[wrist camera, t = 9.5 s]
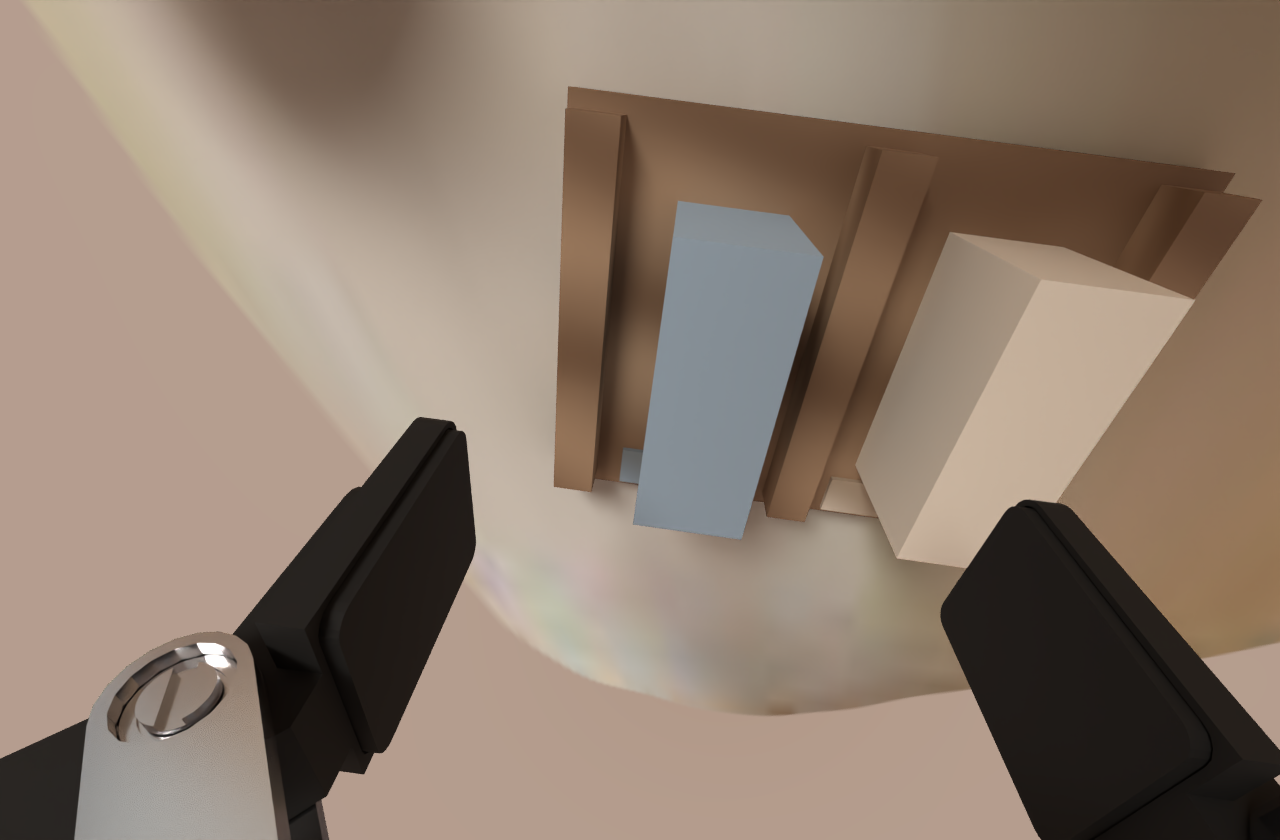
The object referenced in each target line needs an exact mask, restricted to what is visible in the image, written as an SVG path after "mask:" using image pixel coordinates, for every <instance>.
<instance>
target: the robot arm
mask: <svg viewBox="0 0 1280 840" xmlns="http://www.w3.org/2000/svg"><path fill="white" fill-rule="evenodd" d="M475 546H476V536H475V525H474V515H473V504H472V494H471V483H470V473H469V462H468V452H467V441H466V435H465V433H464V432H463V431H457V430H456V426H455V424H454V422H452V421H446V420H438V419H431V418H424V417H419V418H416V419H415V420H414V421H413V423H412V424H411V425H410V426H409V428H408V429H407V430H406V431H405V433H404V434H403V435H402V436H401V438H400V439H399V440H398V441H397V443H396V444H395V445H394V447H393V448H392V449H391V450H390V452H389V453H388V454H387V455H386V457H385V458H384V459H383V460H382V462H381V463H380V464H379V466H378V467H377V468H376V469H375V471H374V472H373V473H372V474H371V476H370V477H369V478H368V479H367V481H366V482H365V483H364V485H363V486H362V487H357V488H354V489H352V490H351V491H350V492H349V493H348V494H347V495H346V496H345V497H344V498H343V499H342V500H341V502H340V503H339V504H338V505H337V507H336V508H335V509H334V510H333V511H332V513H331V514H330V515H329V516H328V518H327V519H326V520H325V521H324V523H323V524H322V525H321V526H320V528H319V529H318V530H317V531H316V532H315V534H314V535H313V536H312V537H311V539H310V540H309V541H308V542H307V543H306V545H305V546H304V547H303V548H302V550H301V551H300V552H299V553H298V555H297V556H296V557H295V558H294V560H293V561H292V562H291V563H290V564H289V566H288V567H287V568H286V569H285V571H284V572H283V573H282V574H281V575H280V577H279V578H278V579H277V580H276V582H275V583H274V584H273V585H272V587H271V588H270V589H269V590H268V592H267V593H266V594H265V595H264V597H263V598H262V599H261V600H260V601H259V603H258V604H257V605H256V606H255V607H254V609H253V610H252V612H250V614H249V615H248V616H247V617H246V619H245V620H244V621H243V622H242V624H241V625H240V626H239V627H238V628H237V630H236V631H235V632H234V633H233V635H231V634H227V633H223V632H203V633H196V634H192V635H189V636H184V637H181V638H177V639H174V640H172V641H170V642H168V643H165V644H163V645H161V646H159V647H157V648H155V649H152V650H150V651H149V652H147V653H146V654H144V655H143V656H142V657H140V658H139V659H137V660H136V661H134V662H133V663H131V664H130V665H128V666H127V667H126V668H125V669H124V670H123V671H122V672H120V673H119V674H118V675H117V676H116V677H115V678H114V679H113V680H112V681H111V682H110V683H109V684H108V685H107V686H106V688H105V689H104V690H103V692H102V694H101V695H100V696H99V698H98V699H97V701H96V702H95V704H94V705H93V707H92V711H91V713H90V716H89V718H88V719H86V720H84V721H82V722H80V723H78V724H75V725H73V726H71V727H69V728H67V729H64V730H62V731H60V732H58V733H56V734H53V735H51V736H49V737H47V738H45V739H43V740H40V741H38V742H36V743H34V744H31V745H29V746H27V747H25V748H23V749H21V750H19V751H16V752H14V753H12V754H10V755H7V756H5V757H3V758H1V759H0V840H329V837H328V831H327V826H326V821H325V816H324V811H323V806H322V800H321V799H323V798H324V797H326V796H327V795H328V792H329V790H330V789H331V787H332V785H333V783H334V781H335V779H336V777H337V775H338V773H339V771H343V772H350V773H358V774H364V773H365V771H366V769H367V767H368V765H369V763H370V760H371V758H372V756H373V754H374V753H383V752H384V751H385V750H386V749H387V747H388V746H389V744H390V742H391V740H392V738H393V736H394V733H395V732H396V729H397V727H398V725H399V722H400V720H401V718H402V716H403V714H404V711H405V709H406V707H407V705H408V702H409V700H410V698H411V696H412V693H413V691H414V689H415V687H416V684H417V682H418V680H419V678H420V676H421V673H422V671H423V669H424V667H425V664H426V662H427V660H428V658H429V655H430V653H431V651H432V649H433V646H434V644H435V642H436V640H437V638H438V635H439V633H440V631H441V629H442V626H443V624H444V622H445V620H446V617H447V615H448V613H449V611H450V608H451V606H452V604H453V602H454V599H455V597H456V595H457V593H458V591H459V588H460V586H461V584H462V582H463V579H464V577H465V575H466V573H467V570H468V568H469V566H470V564H471V561H472V559H473V556H474V552H475ZM941 622H942V625H943V628H944V630H945V632H946V634H947V637H948V639H949V641H950V643H951V645H952V648H953V650H954V652H955V654H956V656H957V659H958V661H959V663H960V665H961V668H962V670H963V672H964V674H965V676H966V679H967V681H968V683H969V685H970V687H971V690H972V692H973V694H974V696H975V698H976V701H977V703H978V705H979V707H980V709H981V712H982V714H983V716H984V718H985V721H986V723H987V725H988V727H989V729H990V732H991V734H992V736H993V738H994V740H995V743H996V745H997V747H998V749H999V752H1000V754H1001V756H1002V758H1003V760H1004V763H1005V765H1006V767H1007V769H1008V772H1009V774H1010V776H1011V778H1012V780H1013V783H1014V785H1015V787H1016V789H1017V791H1018V793H1019V796H1020V798H1021V800H1022V803H1023V805H1024V807H1025V809H1026V811H1027V814H1028V816H1029V818H1030V820H1031V822H1032V825H1033V827H1034V829H1035V831H1036V832H1037V834H1038V836H1039V837H1040V839H1041V840H1280V785H1279V784H1278V783H1277V782H1276V781H1275V779H1274V778H1275V777H1277V776H1278V775H1280V750H1279V749H1278V747H1277V746H1276V745H1275V744H1274V743H1273V742H1272V741H1271V739H1270V738H1269V737H1268V736H1267V735H1266V734H1265V733H1264V731H1263V730H1262V729H1261V728H1260V727H1259V726H1258V724H1257V723H1256V722H1255V721H1254V720H1253V719H1252V718H1251V716H1250V715H1249V714H1248V713H1247V712H1246V711H1245V709H1244V708H1243V707H1242V706H1241V705H1240V704H1239V702H1238V701H1237V700H1236V699H1235V698H1234V697H1233V695H1232V694H1231V693H1230V692H1229V691H1228V690H1227V689H1226V687H1225V686H1224V685H1223V684H1222V683H1221V682H1220V680H1219V679H1218V678H1217V677H1216V676H1215V675H1214V674H1213V672H1212V671H1211V670H1210V669H1209V668H1208V667H1207V665H1206V664H1205V663H1204V662H1203V661H1202V660H1201V658H1200V657H1199V656H1198V655H1197V654H1196V653H1195V652H1194V650H1193V649H1192V648H1191V647H1190V646H1189V645H1188V643H1187V642H1186V641H1185V640H1184V639H1183V638H1182V636H1181V635H1180V634H1179V633H1178V632H1177V631H1176V630H1175V628H1174V627H1173V626H1172V625H1171V624H1170V623H1169V621H1168V620H1167V619H1166V618H1165V617H1164V616H1163V615H1162V613H1161V612H1160V611H1159V610H1158V609H1157V608H1156V606H1155V605H1154V604H1153V603H1152V602H1151V601H1150V599H1149V598H1148V597H1147V596H1146V595H1145V594H1144V593H1143V591H1142V590H1141V589H1140V588H1139V587H1138V586H1137V584H1136V583H1135V582H1134V581H1133V580H1132V579H1131V578H1130V576H1129V575H1128V574H1127V573H1126V572H1125V571H1124V569H1123V568H1122V567H1121V566H1120V565H1119V564H1118V563H1117V561H1116V560H1115V559H1114V558H1113V557H1112V556H1111V554H1110V553H1109V552H1108V551H1107V550H1106V549H1105V547H1104V546H1103V545H1102V544H1101V543H1100V542H1099V541H1098V539H1097V538H1096V537H1095V536H1094V535H1093V534H1092V532H1091V531H1090V530H1089V529H1088V528H1087V527H1086V526H1085V524H1084V523H1083V522H1082V521H1081V520H1080V519H1079V517H1078V516H1077V515H1076V514H1075V513H1074V512H1073V510H1071V509H1070V508H1069V507H1068V506H1066V505H1063V504H1059V503H1052V502H1045V501H1037V500H1030V499H1029V500H1022V501H1020V502H1018V504H1017V505H1016V506H1012V507H1010V508H1008V509H1007V510H1006V511H1005V513H1004V514H1003V516H1002V517H1001V519H1000V520H999V521H998V523H997V524H996V526H995V527H994V529H993V530H992V532H991V533H990V535H989V536H988V538H987V539H986V541H985V542H984V544H983V545H982V547H981V548H980V549H979V551H978V552H977V554H976V555H975V557H974V558H973V560H972V561H971V563H970V564H969V566H968V567H967V569H966V570H965V572H964V573H963V575H962V576H961V578H960V579H959V580H958V582H957V583H956V585H955V586H954V588H953V589H952V591H951V592H950V594H949V595H948V597H947V598H946V600H945V601H944V603H943V605H942V607H941Z"/></svg>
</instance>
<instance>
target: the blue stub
mask: <svg viewBox="0 0 1280 840" xmlns="http://www.w3.org/2000/svg"><path fill="white" fill-rule="evenodd" d="M823 258H824V257H823V255H822V254H821V253H820V252H819V251H818V249H817V248H816V247H815V246H814V245H813V243H812V242H811V241H810V240H809V239H808V237H807V236H806V235H805V234H804V232H803V231H802V230H801V229H800V228H799V226H798V225H797V224H796V223H795V222H794V220H793V219H792V218H791V217H790V216H789V215H781V214H774V213H766V212H758V211H751V210H743V209H736V208H728V207H721V206H713V205H706V204H698V203H691V202H683V201H678V204H677V211H676V218H675V225H674V233H673V240H672V247H671V254H670V261H669V269H668V276H667V283H666V290H665V298H664V305H663V312H662V319H661V326H660V334H659V341H658V348H657V355H656V362H655V370H654V377H653V384H652V391H651V398H650V406H649V413H648V420H647V427H646V434H645V442H644V449H643V456H642V463H641V471H640V478H639V485H638V492H637V500H636V507H635V514H634V521H633V525H640V526H648V527H655V528H662V529H669V530H676V531H683V532H690V533H697V534H704V535H711V536H718V537H725V538H732V539H740V540H741V539H742V536H743V532H744V529H745V525H746V522H747V519H748V515H749V512H750V508H751V505H752V501H753V498H754V495H755V491H756V488H757V484H758V481H759V477H760V474H761V471H762V467H763V464H764V460H765V457H766V453H767V450H768V446H769V443H770V440H771V436H772V433H773V429H774V426H775V422H776V419H777V416H778V412H779V409H780V405H781V402H782V398H783V395H784V391H785V388H786V385H787V381H788V378H789V374H790V371H791V367H792V364H793V361H794V357H795V354H796V350H797V347H798V343H799V340H800V337H801V333H802V330H803V326H804V323H805V319H806V316H807V312H808V309H809V306H810V302H811V299H812V295H813V292H814V288H815V285H816V282H817V278H818V275H819V271H820V268H821V264H822V261H823Z"/></svg>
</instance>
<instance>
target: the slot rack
mask: <svg viewBox="0 0 1280 840" xmlns="http://www.w3.org/2000/svg"><path fill="white" fill-rule="evenodd" d="M1234 175H1235V173H1228V172H1221V171H1214V170H1207V169H1199V168H1191V167H1184V166H1176V165H1168V164H1161V163H1153V162H1145V161H1138V160H1130V159H1122V158H1115V157H1107V156H1099V155H1092V154H1084V153H1076V152H1069V151H1061V150H1053V149H1046V148H1038V147H1030V146H1023V145H1015V144H1007V143H1000V142H992V141H984V140H977V139H969V138H961V137H954V136H946V135H938V134H931V133H923V132H915V131H908V130H900V129H892V128H885V127H877V126H869V125H862V124H854V123H846V122H839V121H831V120H823V119H816V118H808V117H800V116H793V115H785V114H777V113H770V112H762V111H754V110H747V109H739V108H731V107H724V106H716V105H708V104H701V103H693V102H685V101H678V100H670V99H662V98H655V97H647V96H639V95H632V94H624V93H616V92H609V91H601V90H593V89H586V88H578V87H568V105H567V109H565V139H564V172H563V204H562V237H561V269H560V302H559V334H558V367H557V399H556V432H555V464H554V487H560V488H567V489H574V490H581V491H588V492H591V491H592V487H593V483H594V479H602V480H610V481H617V482H624V483H631V484H638V485H639V478H640V471H641V463H642V456H643V449H644V442H645V434H646V427H647V420H648V413H649V406H650V398H651V391H652V384H653V377H654V370H655V362H656V355H657V348H658V341H659V334H660V326H661V319H662V312H663V305H664V298H665V290H666V283H667V276H668V269H669V261H670V254H671V247H672V240H673V233H674V225H675V218H676V211H677V204H678V201H683V202H691V203H698V204H706V205H713V206H721V207H728V208H736V209H743V210H751V211H758V212H766V213H774V214H781V215H789V216H790V217H791V218H792V219H793V220H794V222H795V223H796V224H797V225H798V226H799V228H800V229H801V230H802V231H803V232H804V234H805V235H806V236H807V237H808V239H809V240H810V241H811V242H812V243H813V245H814V246H815V247H816V248H817V249H818V251H819V252H820V253H821V254H822V255H823V257H824V258H823V261H822V264H821V268H820V271H819V275H818V278H817V282H816V285H815V288H814V292H813V295H812V299H811V302H810V306H809V309H808V312H807V316H806V319H805V323H804V326H803V330H802V333H801V337H800V340H799V343H798V347H797V350H796V354H795V357H794V361H793V364H792V367H791V371H790V374H789V378H788V381H787V385H786V388H785V391H784V395H783V398H782V402H781V405H780V409H779V412H778V416H777V419H776V422H775V426H774V429H773V433H772V436H771V440H770V443H769V446H768V450H767V453H766V457H765V460H764V464H763V467H762V471H761V474H760V477H759V481H758V484H757V488H756V491H755V495H754V498H753V501H759V502H764V505H765V510H766V516H767V517H773V518H780V519H787V520H794V521H801V522H805V519H806V516H807V514H808V511H809V509H816V510H823V511H830V512H837V513H844V514H852V515H859V516H866V517H873V518H878V515H877V513H876V511H875V509H874V506H873V504H872V502H871V500H870V497H869V495H868V493H867V491H866V488H865V486H864V484H863V482H862V479H861V477H860V475H859V473H858V470H857V468H856V466H855V464H856V462H857V459H858V457H859V454H860V452H861V449H862V447H863V444H864V442H865V440H866V437H867V435H868V432H869V430H870V427H871V425H872V422H873V420H874V417H875V415H876V413H877V410H878V408H879V405H880V403H881V400H882V398H883V395H884V393H885V390H886V388H887V385H888V383H889V381H890V378H891V376H892V373H893V371H894V368H895V366H896V363H897V361H898V358H899V356H900V353H901V351H902V349H903V346H904V344H905V341H906V339H907V336H908V334H909V331H910V329H911V326H912V324H913V321H914V319H915V317H916V314H917V312H918V309H919V307H920V304H921V302H922V299H923V297H924V294H925V292H926V289H927V287H928V285H929V282H930V280H931V277H932V275H933V272H934V270H935V267H936V265H937V262H938V260H939V257H940V255H941V253H942V250H943V248H944V245H945V243H946V240H947V238H948V235H949V233H950V232H953V233H961V234H968V235H976V236H983V237H991V238H999V239H1006V240H1014V241H1021V242H1029V243H1036V244H1044V245H1051V246H1059V247H1064V248H1067V249H1069V250H1072V251H1074V252H1077V253H1079V254H1082V255H1084V256H1087V257H1089V258H1092V259H1094V260H1097V261H1099V262H1102V263H1104V264H1107V265H1109V266H1112V267H1114V268H1117V269H1119V270H1122V271H1124V272H1127V273H1129V274H1132V275H1134V276H1137V277H1139V278H1142V279H1144V280H1147V281H1149V282H1152V283H1154V284H1157V285H1159V286H1162V287H1164V288H1166V289H1169V290H1171V291H1174V292H1176V293H1179V294H1181V295H1184V296H1186V297H1189V298H1191V299H1195V297H1196V296H1197V294H1198V293H1199V291H1200V290H1201V288H1202V287H1203V286H1204V284H1205V283H1206V281H1207V280H1208V278H1209V277H1210V275H1211V274H1212V272H1213V271H1214V270H1215V268H1216V267H1217V265H1218V264H1219V262H1220V261H1221V259H1222V258H1223V256H1224V255H1225V254H1226V252H1227V251H1228V249H1229V248H1230V246H1231V245H1232V243H1233V242H1234V240H1235V239H1236V238H1237V236H1238V235H1239V233H1240V232H1241V230H1242V229H1243V227H1244V226H1245V224H1246V223H1247V222H1248V220H1249V219H1250V217H1251V216H1252V214H1253V213H1254V211H1255V210H1256V208H1257V207H1258V206H1259V204H1260V203H1261V201H1262V200H1260V199H1254V198H1249V197H1243V196H1237V195H1232V194H1226V193H1223V192H1224V190H1225V189H1226V187H1227V185H1228V184H1229V182H1230V181H1231V179H1232V178H1233V176H1234Z"/></svg>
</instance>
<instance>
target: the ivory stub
mask: <svg viewBox="0 0 1280 840" xmlns="http://www.w3.org/2000/svg"><path fill="white" fill-rule="evenodd" d="M1194 302H1195V300H1194V299H1191V298H1189V297H1186V296H1184V295H1181V294H1179V293H1176V292H1174V291H1171V290H1169V289H1166V288H1164V287H1162V286H1159V285H1157V284H1154V283H1152V282H1149V281H1147V280H1144V279H1142V278H1139V277H1137V276H1134V275H1132V274H1129V273H1127V272H1124V271H1122V270H1119V269H1117V268H1114V267H1112V266H1109V265H1107V264H1104V263H1102V262H1099V261H1097V260H1094V259H1092V258H1089V257H1087V256H1084V255H1082V254H1079V253H1077V252H1074V251H1072V250H1069V249H1067V248H1064V247H1059V246H1051V245H1044V244H1036V243H1029V242H1021V241H1014V240H1006V239H999V238H991V237H983V236H976V235H968V234H961V233H953V232H950V233H949V235H948V238H947V240H946V243H945V245H944V248H943V250H942V253H941V255H940V257H939V260H938V262H937V265H936V267H935V270H934V272H933V275H932V277H931V280H930V282H929V285H928V287H927V289H926V292H925V294H924V297H923V299H922V302H921V304H920V307H919V309H918V312H917V314H916V317H915V319H914V321H913V324H912V326H911V329H910V331H909V334H908V336H907V339H906V341H905V344H904V346H903V349H902V351H901V353H900V356H899V358H898V361H897V363H896V366H895V368H894V371H893V373H892V376H891V378H890V381H889V383H888V385H887V388H886V390H885V393H884V395H883V398H882V400H881V403H880V405H879V408H878V410H877V413H876V415H875V417H874V420H873V422H872V425H871V427H870V430H869V432H868V435H867V437H866V440H865V442H864V444H863V447H862V449H861V452H860V454H859V457H858V459H857V462H856V464H855V466H856V468H857V470H858V473H859V475H860V477H861V479H862V482H863V484H864V486H865V488H866V491H867V493H868V495H869V497H870V500H871V502H872V504H873V506H874V509H875V511H876V513H877V515H878V518H879V520H880V522H881V524H882V527H883V529H884V531H885V533H886V536H887V538H888V540H889V542H890V545H891V547H892V549H893V551H894V554H895V556H896V558H897V559H904V560H911V561H918V562H926V563H933V564H940V565H947V566H954V567H961V568H967V567H968V566H969V564H970V563H971V561H972V560H973V558H974V557H975V555H976V554H977V552H978V551H979V549H980V548H981V547H982V545H983V544H984V542H985V541H986V539H987V538H988V536H989V535H990V533H991V532H992V530H993V529H994V527H995V526H996V524H997V523H998V521H999V520H1000V519H1001V517H1002V516H1003V514H1004V513H1005V511H1006V510H1007V509H1008V508H1010V507H1012V506H1016V505H1017V504H1018V502H1020V501H1022V500H1029V499H1030V500H1037V501H1045V502H1052V503H1056V502H1057V501H1058V499H1059V498H1060V496H1061V495H1062V493H1063V492H1064V490H1065V489H1066V487H1067V486H1068V485H1069V483H1070V482H1071V480H1072V479H1073V477H1074V476H1075V474H1076V473H1077V472H1078V470H1079V469H1080V467H1081V466H1082V464H1083V463H1084V461H1085V460H1086V458H1087V457H1088V456H1089V454H1090V453H1091V451H1092V450H1093V448H1094V447H1095V445H1096V444H1097V443H1098V441H1099V440H1100V438H1101V437H1102V435H1103V434H1104V432H1105V431H1106V429H1107V428H1108V427H1109V425H1110V424H1111V422H1112V421H1113V419H1114V418H1115V416H1116V415H1117V414H1118V412H1119V411H1120V409H1121V408H1122V406H1123V405H1124V403H1125V402H1126V400H1127V399H1128V398H1129V396H1130V395H1131V393H1132V392H1133V390H1134V389H1135V387H1136V386H1137V385H1138V383H1139V382H1140V380H1141V379H1142V377H1143V376H1144V374H1145V373H1146V371H1147V370H1148V369H1149V367H1150V366H1151V364H1152V363H1153V361H1154V360H1155V358H1156V357H1157V356H1158V354H1159V353H1160V351H1161V350H1162V348H1163V347H1164V345H1165V344H1166V342H1167V341H1168V340H1169V338H1170V337H1171V335H1172V334H1173V332H1174V331H1175V329H1176V328H1177V327H1178V325H1179V324H1180V322H1181V321H1182V319H1183V318H1184V316H1185V315H1186V313H1187V312H1188V311H1189V309H1190V308H1191V306H1192V305H1193V303H1194Z"/></svg>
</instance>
